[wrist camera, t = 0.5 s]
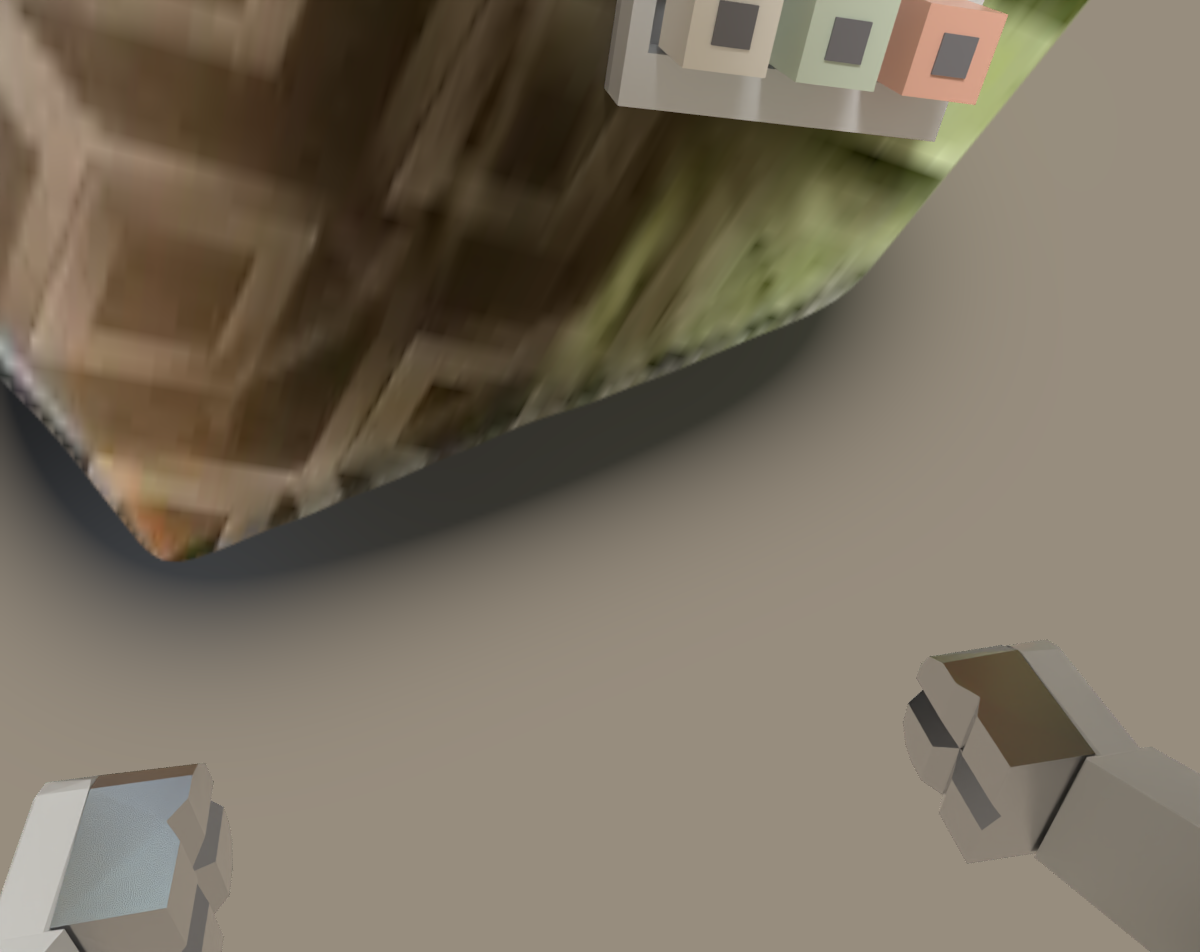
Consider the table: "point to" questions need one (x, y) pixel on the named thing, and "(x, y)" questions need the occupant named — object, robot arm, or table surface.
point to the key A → (721, 34)
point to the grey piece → (750, 88)
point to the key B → (834, 41)
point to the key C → (941, 49)
